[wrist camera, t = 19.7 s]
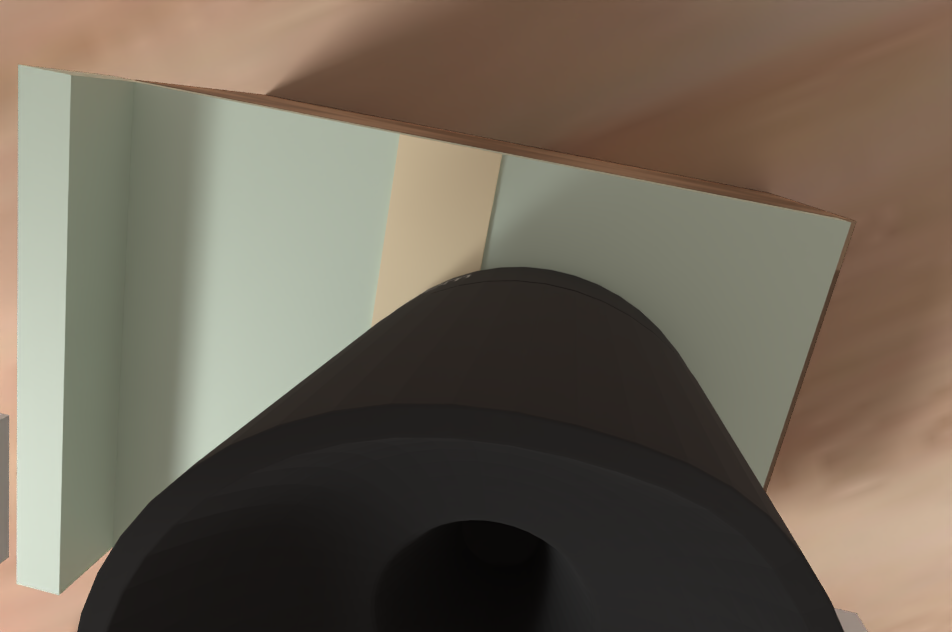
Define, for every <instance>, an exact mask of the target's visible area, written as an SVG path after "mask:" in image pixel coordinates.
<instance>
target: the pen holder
mask: <svg viewBox="0 0 952 632" xmlns="http://www.w3.org/2000/svg"><path fill="white" fill-rule="evenodd" d="M77 632H844V630H843V628H842V625H841V623H840V621H839V619H838V616H837V614H836V612H835V609H834V607H833V605H832V602H831V601H830V599H829V597H828V595H827V593H826V592H825V590H824V588H823V587H822V585H821V583H820V582H819V580H818V578H817V577H816V575H815V573H814V572H813V570H812V568H811V567H810V565H809V563H808V562H807V560H806V558H805V556H804V555H803V553H802V551H801V550H800V548H799V546H798V545H797V543H796V541H795V540H794V538H793V536H792V535H791V533H790V531H789V530H788V528H787V527H786V525H785V523H784V522H783V520H782V518H781V517H780V515H779V513H778V512H777V510H776V509H775V507H774V505H773V504H772V502H771V500H770V499H769V497H768V496H767V494H766V492H765V491H764V489H763V487H762V486H761V484H760V482H759V481H758V479H757V478H756V476H755V474H754V473H753V471H752V469H751V468H750V466H749V465H748V463H747V461H746V460H745V458H744V456H743V455H742V453H741V451H740V450H739V448H738V447H737V445H736V443H735V442H734V440H733V438H732V437H731V435H730V433H729V432H728V430H727V429H726V427H725V425H724V424H723V422H722V420H721V419H720V417H719V416H718V414H717V412H716V411H715V409H714V407H713V406H712V404H711V402H710V401H709V399H708V398H707V396H706V394H705V393H704V391H703V389H702V388H701V386H700V385H699V383H698V381H697V380H696V378H695V377H694V375H693V374H692V373H691V371H690V370H689V368H688V367H687V365H686V363H685V362H684V360H683V359H682V357H681V356H680V354H679V353H678V351H677V350H676V349H675V347H674V346H673V345H672V344H671V343H670V341H669V340H668V339H667V338H666V336H665V335H664V334H663V333H662V331H661V330H660V329H659V328H658V327H657V326H656V325H655V324H654V323H653V322H652V321H651V320H650V319H648V318H647V317H646V316H645V315H644V314H643V313H642V312H641V311H640V310H639V309H637V308H636V307H634V306H633V305H632V304H630V303H629V302H627V301H626V300H625V299H623V298H622V297H620V296H619V295H617V294H615V293H613V292H611V291H609V290H608V289H606V288H604V287H602V286H600V285H598V284H596V283H593V282H591V281H588V280H585V279H583V278H580V277H577V276H575V275H571V274H567V273H563V272H558V271H554V270H550V269H541V268H531V267H500V268H493V269H487V270H480V271H475V272H472V273H468V274H465V275H461V276H458V277H455V278H452V279H450V280H447V281H445V282H443V283H441V284H438V285H436V286H434V287H432V288H430V289H428V290H426V291H425V292H423V293H421V294H420V295H418V296H417V297H415V298H413V299H412V300H410V301H408V302H407V303H405V304H404V305H402V306H401V307H400V308H398V309H397V310H395V311H394V312H393V313H391V314H390V315H388V316H387V317H385V318H384V319H382V320H381V321H379V322H378V323H377V324H375V325H374V326H373V327H371V328H370V329H369V330H367V331H366V332H365V333H364V334H362V335H361V336H360V337H358V338H357V339H356V340H355V341H353V342H352V343H351V344H349V345H348V346H347V347H345V348H344V349H343V350H342V351H340V352H339V353H338V354H336V355H335V356H334V357H332V358H331V359H330V360H329V361H327V362H326V363H325V364H323V365H322V366H321V367H320V368H318V369H317V370H316V371H314V372H313V373H312V374H310V375H309V376H308V377H307V378H305V379H304V380H303V381H301V382H300V383H299V384H297V385H296V386H295V387H294V388H292V389H291V390H290V391H288V392H287V393H286V394H285V395H283V396H282V397H281V398H279V399H278V400H277V401H275V402H274V403H273V404H272V405H270V406H269V407H268V408H266V409H265V410H264V411H263V412H261V413H260V414H259V415H257V416H256V417H255V418H253V419H252V420H251V421H250V422H248V423H247V424H246V425H244V426H243V427H242V428H240V429H239V430H238V431H237V432H235V433H234V434H233V435H231V436H230V437H229V438H228V439H226V440H225V441H224V442H222V443H221V444H220V445H218V446H217V447H216V448H215V449H213V450H212V451H211V452H209V453H208V454H207V455H205V456H204V457H203V458H202V459H200V460H199V461H198V462H196V463H195V464H194V465H193V466H192V467H190V468H189V469H188V470H187V471H186V472H184V473H183V474H182V475H181V476H180V477H178V478H177V479H176V480H175V481H174V482H173V483H171V484H170V485H169V486H168V487H167V488H165V489H164V490H163V491H162V492H161V493H159V494H158V495H157V496H156V497H155V498H154V499H152V500H151V501H150V502H149V503H148V504H147V505H146V507H145V508H144V509H143V510H142V511H141V512H140V514H139V515H138V516H137V517H136V518H135V519H134V521H133V522H132V523H131V524H130V525H129V526H128V528H127V529H126V530H125V531H124V532H123V533H122V535H121V536H120V537H119V539H118V540H117V542H116V544H115V545H114V547H113V549H112V550H111V552H110V554H109V555H108V557H107V558H106V560H105V562H104V563H103V565H102V567H101V568H100V570H99V572H98V573H97V576H96V578H95V581H94V583H93V586H92V588H91V591H90V593H89V595H88V598H87V600H86V603H85V605H84V608H83V610H82V613H81V617H80V622H79V626H78V631H77Z"/></svg>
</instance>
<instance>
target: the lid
mask: <svg viewBox="0 0 952 632" xmlns="http://www.w3.org/2000/svg"><path fill="white" fill-rule="evenodd" d="M850 225H851V222H848V221H845V220H842V219H839V218H834V217H829V216H824V215H819V214H814V213H809V212H804V211H799V210H793V209H788V208H783V207H778V206H773V205H768V204H763V203H758V202H753V201H748V200H742V199H737V198H732V197H727V196H722V195H717V194H712V193H707V192H702V191H697V190H691V189H686V188H681V187H676V186H671V185H666V184H661V183H656V182H651V181H646V180H640V179H635V178H630V177H625V176H620V175H615V174H610V173H605V172H600V171H595V170H589V169H584V168H579V167H574V166H569V165H564V164H559V163H554V162H549V161H544V160H538V159H533V158H528V157H523V156H518V155H513V154H508V153H503V152H498V151H493V150H487V149H482V148H477V147H472V146H467V145H462V144H457V143H452V142H447V141H442V140H436V139H431V138H426V137H421V136H416V135H411V134H406V133H401V132H396V131H391V130H385V129H380V128H375V127H370V126H365V125H360V124H355V123H350V122H345V121H340V120H334V119H329V118H324V117H319V116H314V115H309V114H304V113H299V112H294V111H289V110H283V109H278V108H273V107H268V106H263V105H258V104H253V103H248V102H243V101H238V100H232V99H227V98H222V97H217V96H212V95H207V94H202V93H197V92H192V91H187V90H181V89H176V88H171V87H166V86H161V85H156V84H151V83H146V82H141V81H136V80H130V79H125V78H120V77H115V76H110V75H102V74H94V73H85V72H77V71H69V70H60V69H52V68H43V67H35V66H26V65H18V297H17V584H19V585H23V586H26V587H30V588H34V589H38V590H42V591H45V592H49V593H53V594H57V595H60V594H61V593H62V592H63V591H64V590H65V589H66V588H68V587H69V586H70V585H71V584H72V583H73V582H74V581H75V580H77V579H78V578H79V577H80V576H81V575H82V574H83V573H84V572H85V571H87V570H88V569H89V568H90V567H91V566H92V565H93V564H94V563H96V562H97V561H98V560H99V559H100V558H101V557H102V556H103V555H104V554H106V553H107V552H108V551H109V550H110V549H111V548H112V547H114V545H115V544H116V542H117V540H118V539H119V537H120V536H121V535H122V533H123V532H124V531H125V530H126V529H127V528H128V526H129V525H130V524H131V523H132V522H133V521H134V519H135V518H136V517H137V516H138V515H139V514H140V512H141V511H142V510H143V509H144V508H145V507H146V505H147V504H148V503H149V502H150V501H151V500H152V499H154V498H155V497H156V496H157V495H158V494H159V493H161V492H162V491H163V490H164V489H165V488H167V487H168V486H169V485H170V484H171V483H173V482H174V481H175V480H176V479H177V478H178V477H180V476H181V475H182V474H183V473H184V472H186V471H187V470H188V469H189V468H190V467H192V466H193V465H194V464H195V463H196V462H198V461H199V460H200V459H202V458H203V457H204V456H205V455H207V454H208V453H209V452H211V451H212V450H213V449H215V448H216V447H217V446H218V445H220V444H221V443H222V442H224V441H225V440H226V439H228V438H229V437H230V436H231V435H233V434H234V433H235V432H237V431H238V430H239V429H240V428H242V427H243V426H244V425H246V424H247V423H248V422H250V421H251V420H252V419H253V418H255V417H256V416H257V415H259V414H260V413H261V412H263V411H264V410H265V409H266V408H268V407H269V406H270V405H272V404H273V403H274V402H275V401H277V400H278V399H279V398H281V397H282V396H283V395H285V394H286V393H287V392H288V391H290V390H291V389H292V388H294V387H295V386H296V385H297V384H299V383H300V382H301V381H303V380H304V379H305V378H307V377H308V376H309V375H310V374H312V373H313V372H314V371H316V370H317V369H318V368H320V367H321V366H322V365H323V364H325V363H326V362H327V361H329V360H330V359H331V358H332V357H334V356H335V355H336V354H338V353H339V352H340V351H342V350H343V349H344V348H345V347H347V346H348V345H349V344H351V343H352V342H353V341H355V340H356V339H357V338H358V337H360V336H361V335H362V334H364V333H365V332H366V331H367V330H369V329H370V328H371V327H373V326H374V325H375V324H377V323H378V322H379V321H381V320H382V319H384V318H385V317H387V316H388V315H390V314H391V313H393V312H394V311H395V310H397V309H398V308H400V307H401V306H402V305H404V304H405V303H407V302H408V301H410V300H412V299H413V298H415V297H417V296H418V295H420V294H421V293H423V292H425V291H426V290H428V289H430V288H432V287H434V286H436V285H438V284H441V283H443V282H445V281H447V280H450V279H452V278H455V277H458V276H461V275H465V274H468V273H472V272H475V271H480V270H487V269H493V268H500V267H531V268H541V269H550V270H554V271H558V272H563V273H567V274H571V275H575V276H577V277H580V278H583V279H585V280H588V281H591V282H593V283H596V284H598V285H600V286H602V287H604V288H606V289H608V290H609V291H611V292H613V293H615V294H617V295H619V296H620V297H622V298H623V299H625V300H626V301H627V302H629V303H630V304H632V305H633V306H634V307H636V308H637V309H639V310H640V311H641V312H642V313H643V314H644V315H645V316H646V317H647V318H648V319H650V320H651V321H652V322H653V323H654V324H655V325H656V326H657V327H658V328H659V329H660V330H661V331H662V333H663V334H664V335H665V336H666V338H667V339H668V340H669V341H670V343H671V344H672V345H673V346H674V347H675V349H676V350H677V351H678V353H679V354H680V356H681V357H682V359H683V360H684V362H685V363H686V365H687V367H688V368H689V370H690V371H691V373H692V374H693V375H694V377H695V378H696V380H697V381H698V383H699V385H700V386H701V388H702V389H703V391H704V393H705V394H706V396H707V398H708V399H709V401H710V402H711V404H712V406H713V407H714V409H715V411H716V412H717V414H718V416H719V417H720V419H721V420H722V422H723V424H724V425H725V427H726V429H727V430H728V432H729V433H730V435H731V437H732V438H733V440H734V442H735V443H736V445H737V447H738V448H739V450H740V451H741V453H742V455H743V456H744V458H745V460H746V461H747V463H748V465H749V466H750V468H751V469H752V471H753V473H754V474H755V476H756V478H757V479H758V481H759V482H760V484H761V486H762V487H763V486H764V483H765V480H766V477H767V474H768V471H769V468H770V465H771V462H772V459H773V456H774V453H775V450H776V447H777V444H778V441H779V438H780V435H781V432H782V429H783V426H784V423H785V420H786V417H787V414H788V411H789V408H790V405H791V402H792V399H793V396H794V393H795V390H796V387H797V384H798V381H799V378H800V375H801V372H802V369H803V366H804V363H805V360H806V357H807V354H808V351H809V348H810V345H811V342H812V339H813V336H814V333H815V330H816V327H817V324H818V321H819V318H820V315H821V312H822V309H823V306H824V303H825V300H826V297H827V294H828V291H829V288H830V285H831V282H832V279H833V276H834V273H835V270H836V267H837V264H838V261H839V258H840V255H841V252H842V249H843V246H844V243H845V240H846V237H847V234H848V231H849V228H850Z"/></svg>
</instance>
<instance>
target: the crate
mask: <svg viewBox="0 0 952 632" xmlns="http://www.w3.org/2000/svg"><path fill="white" fill-rule="evenodd" d="M136 81H141V80H136ZM141 82H146V83H151V84H156V85H161V86H166V87H171V88H176V89H181V90H187V91H192V92H197V93H202V94H207V95H212V96H217V97H222V98H227V99H232V100H238V101H243V102H248V103H253V104H258V105H263V106H268V107H273V108H278V109H283V110H289V111H294V112H299V113H304V114H309V115H314V116H319V117H324V118H329V119H334V120H340V121H345V122H350V123H355V124H360V125H365V126H370V127H375V128H380V129H385V130H391V131H396V132H401V133H406V134H411V135H416V136H421V137H426V138H431V139H436V140H442V141H447V142H452V143H457V144H462V145H467V146H472V147H477V148H482V149H487V150H493V151H498V152H503V153H508V154H513V155H518V156H523V157H528V158H533V159H538V160H544V161H549V162H554V163H559V164H564V165H569V166H574V167H579V168H584V169H589V170H595V171H600V172H605V173H610V174H615V175H620V176H625V177H630V178H635V179H640V180H646V181H651V182H656V183H661V184H666V185H671V186H676V187H681V188H686V189H691V190H697V191H702V192H707V193H712V194H717V195H722V196H727V197H732V198H737V199H742V200H748V201H753V202H758V203H763V204H768V205H773V206H778V207H783V208H788V209H793V210H799V211H804V212H809V213H814V214H819V215H824V216H829V217H834V218H839V219H842V220H845V221H848V222H851V225H850V228H849V231H848V234H847V237H846V240H845V243H844V246H843V249H842V252H841V255H840V258H839V261H838V264H837V267H836V270H835V273H834V276H833V279H832V282H831V285H830V288H829V291H828V294H827V297H826V300H825V303H824V306H823V309H822V312H821V315H820V318H819V321H818V324H817V327H816V330H815V333H814V336H813V339H812V342H811V345H810V348H809V351H808V354H807V357H806V360H805V363H804V366H803V369H802V372H801V375H800V378H799V381H798V384H797V387H796V390H795V393H794V396H793V399H792V402H791V405H790V408H789V411H788V414H787V417H786V420H785V423H784V426H783V429H782V432H781V435H780V438H779V441H778V444H777V447H776V450H775V453H774V456H773V459H772V462H771V465H770V468H769V471H768V474H767V477H766V480H765V483H764V486H763V489H764V491H765V492H766V490H767V487H768V484H769V481H770V478H771V475H772V472H773V469H774V466H775V463H776V460H777V457H778V454H779V451H780V448H781V445H782V442H783V439H784V436H785V433H786V430H787V427H788V424H789V421H790V418H791V415H792V412H793V409H794V406H795V403H796V400H797V397H798V394H799V391H800V388H801V385H802V382H803V379H804V376H805V373H806V370H807V367H808V364H809V361H810V358H811V355H812V352H813V349H814V346H815V343H816V340H817V337H818V334H819V331H820V328H821V325H822V322H823V319H824V316H825V314H826V311H827V308H828V305H829V302H830V299H831V296H832V293H833V290H834V287H835V284H836V281H837V278H838V275H839V272H840V269H841V266H842V263H843V260H844V257H845V254H846V251H847V248H848V245H849V242H850V239H851V236H852V233H853V230H854V227H855V224H856V221H854V220H851V219H848V218H845V217H842V216H839V215H836V214H833V213H830V212H826V211H823V210H820V209H817V208H814V207H811V206H808V205H805V204H802V203H799V202H796V201H793V200H789V199H786V198H783V197H780V196H777V195H774V194H771V193H766V192H761V191H756V190H751V189H746V188H741V187H736V186H730V185H725V184H720V183H715V182H710V181H705V180H700V179H694V178H689V177H684V176H679V175H674V174H669V173H664V172H658V171H653V170H648V169H643V168H638V167H633V166H628V165H622V164H617V163H612V162H607V161H602V160H597V159H592V158H587V157H581V156H576V155H571V154H566V153H561V152H556V151H551V150H545V149H540V148H535V147H530V146H525V145H520V144H515V143H509V142H504V141H499V140H494V139H489V138H484V137H479V136H474V135H468V134H463V133H458V132H453V131H448V130H443V129H438V128H432V127H427V126H422V125H417V124H412V123H407V122H402V121H396V120H391V119H386V118H381V117H376V116H371V115H366V114H360V113H355V112H350V111H345V110H340V109H335V108H330V107H325V106H319V105H314V104H309V103H304V102H299V101H294V100H289V99H283V98H278V97H273V96H268V95H262V94H253V93H245V92H236V91H227V90H219V89H210V88H201V87H193V86H184V85H175V84H167V83H158V82H149V81H141Z"/></svg>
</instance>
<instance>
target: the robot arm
mask: <svg viewBox="0 0 952 632" xmlns="http://www.w3.org/2000/svg"><path fill="white" fill-rule="evenodd" d="M8 557H9V415H6V414H2V413H0V563H1V562H3V561H4V560H5V559H7V558H8ZM834 609H835V612H836V614H837V616H838V619H839V621H840V623H841V625H842V628H843V630H844V632H868V631H867V630H866V628H865V626H864V625H863V623H862V621H861V620H860V618H859V616H858V615H857V613H854V612H849V611H845V610H841V609H836V608H834Z"/></svg>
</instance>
